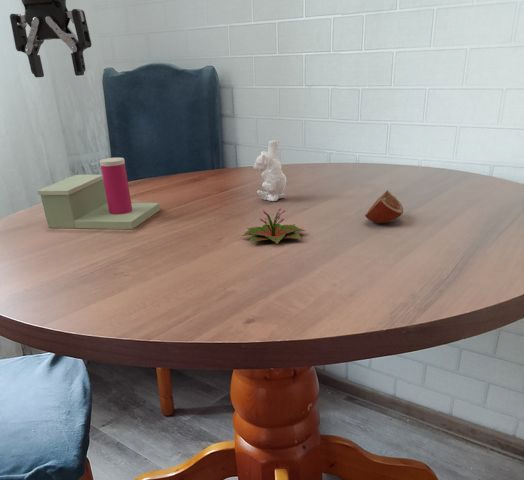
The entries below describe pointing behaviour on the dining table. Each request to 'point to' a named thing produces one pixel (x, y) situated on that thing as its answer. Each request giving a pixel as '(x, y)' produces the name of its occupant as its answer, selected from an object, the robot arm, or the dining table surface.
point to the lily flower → (273, 230)
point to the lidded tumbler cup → (116, 185)
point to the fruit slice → (385, 209)
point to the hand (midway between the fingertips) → (59, 76)
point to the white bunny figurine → (271, 173)
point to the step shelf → (88, 205)
